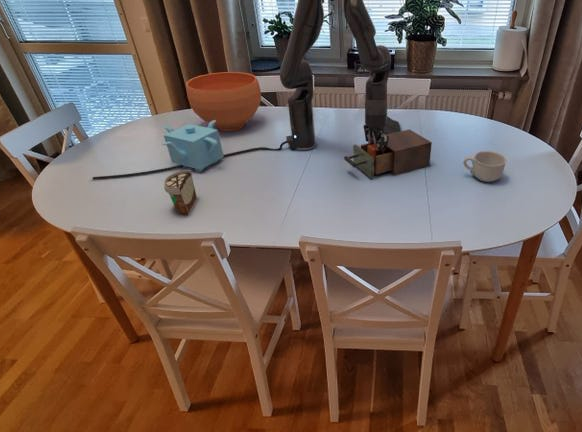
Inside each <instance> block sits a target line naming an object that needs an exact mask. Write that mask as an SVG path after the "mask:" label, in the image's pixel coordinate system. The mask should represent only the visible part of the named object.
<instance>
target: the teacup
mask: <svg viewBox="0 0 582 432" xmlns="http://www.w3.org/2000/svg"><path fill="white" fill-rule="evenodd" d="M468 161H471V163H472V166H470V165H468V164H467V163H468ZM462 162H463V163H462V164H463V166H464V168H466V169H467V170H469V172H470V173H471V174H473V176H474V177H475V178H476V179H478V180H479V181H481V182H483V183H484V182H485V183H492V182H495V181H497V180H499V179H500V178H502V176H503V173H504V171H505V166H506V163H507V158H506V157H505V156H504V155H503V154H502V153H499V152H496V151H491V150H481V151H478V152H475V154H474V156H466V157H465V158H464V159H463V161H462Z"/></svg>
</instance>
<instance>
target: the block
mask: <svg viewBox="0 0 582 432" xmlns="http://www.w3.org/2000/svg"><path fill="white" fill-rule="evenodd" d="M379 145H380V144H378V146H379ZM367 153H368V154H369V155H370V156H372V157H373V158H374V161H375V156H376V145H375V144H372V145H367ZM382 154H384V150H383V151H382Z"/></svg>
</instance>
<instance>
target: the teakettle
mask: <svg viewBox="0 0 582 432" xmlns="http://www.w3.org/2000/svg"><path fill="white" fill-rule="evenodd" d="M215 122H216V120H213V121H211V122H210V123H208V125H207V127H206V126H201V125H196V124H191V123H188V124H185V125H184V126H181V127H179V128H177V129H173V127H171V126H170V125H167V124H166V125H162V127H163V128H164V129H165V130H166V131H167V133H165V134H164V135H163V138H164V141H165V142H163V143H161V145H162V146H166V148H167V151H168V153H169V157H170V161H171V163H172V164H176V165H184V166H183V167H180V168H182V169H185V168H188V167H189V168H192V169H194V170H195V172H198V173H199V172H203V171H204V170H205V168H207V167H208V166H210V165H211V164H217V163H218V161H219V160H220V159H222V158H225V157H224V155H225V154H224V152H223V147H222V143H221V138H220V134H219V130H218V129H217V128H214V127H215V125H214V123H215Z"/></svg>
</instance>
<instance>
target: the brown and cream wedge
mask: <svg viewBox="0 0 582 432" xmlns="http://www.w3.org/2000/svg"><path fill="white" fill-rule="evenodd" d="M163 186H164V191H165V192H166V193H167V194H168V195H169V197H170V200H171V202H172V204H173V206H174V209H175V212H176V213H178V214H180V215H184V216H189V215H190V213H191V211H192V209H194V206H195V204H196V203H197V201H198V195H197V192H196V188H195V183H194V179H193V173H192V171H191V169H183V170H180V171H177V172H174V173H172V174H170V175H168V176H167V177H166V178H165V179H164V183H163Z"/></svg>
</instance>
